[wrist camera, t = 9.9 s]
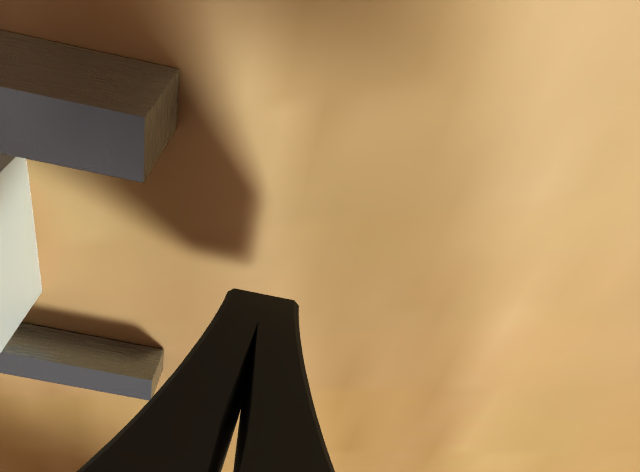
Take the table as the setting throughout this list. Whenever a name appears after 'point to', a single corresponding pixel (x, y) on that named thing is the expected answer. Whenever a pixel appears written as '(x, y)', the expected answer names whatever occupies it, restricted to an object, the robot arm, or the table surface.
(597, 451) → the table surface
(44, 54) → the rail
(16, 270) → the block
